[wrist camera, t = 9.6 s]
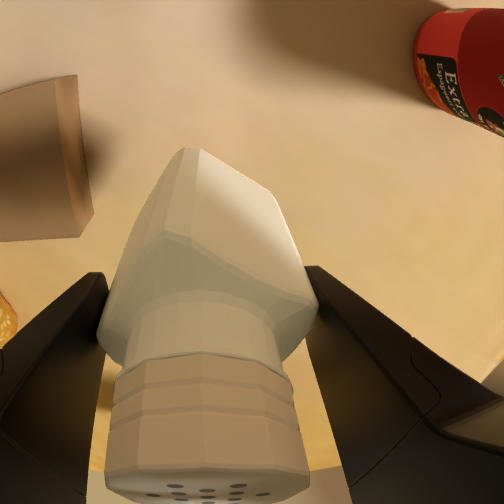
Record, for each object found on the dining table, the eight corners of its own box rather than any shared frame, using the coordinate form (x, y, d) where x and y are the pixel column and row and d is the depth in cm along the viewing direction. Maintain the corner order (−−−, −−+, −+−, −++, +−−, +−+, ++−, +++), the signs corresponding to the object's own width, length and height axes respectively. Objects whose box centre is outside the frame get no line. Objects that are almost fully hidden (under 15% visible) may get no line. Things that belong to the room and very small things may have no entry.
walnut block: (94, 213, 19) (79, 237, 17) (-7, 222, 18) (-26, 243, 16) (77, 74, 14) (54, 79, 12) (-31, 105, 13) (-58, 116, 11)
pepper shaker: (220, 270, 13) (242, 518, 5) (132, 225, 12) (60, 488, 4) (280, 193, 12) (391, 459, 4) (185, 134, 10) (115, 424, 2)
